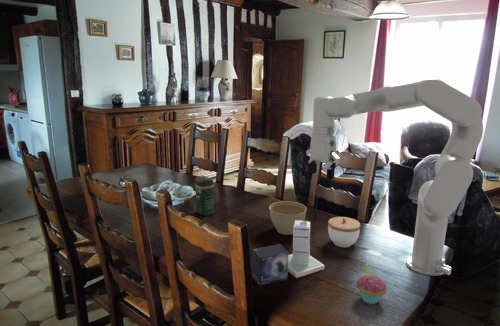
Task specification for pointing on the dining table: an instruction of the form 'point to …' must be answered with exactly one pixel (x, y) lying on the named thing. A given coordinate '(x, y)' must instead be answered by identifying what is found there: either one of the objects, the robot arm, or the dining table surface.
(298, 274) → the plate
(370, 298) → the cupcake
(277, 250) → the small box
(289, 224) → the planter bowl
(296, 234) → the syrup box
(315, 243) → the dining table surface
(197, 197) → the coffee jar
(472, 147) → the robot arm
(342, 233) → the lidded bowl
